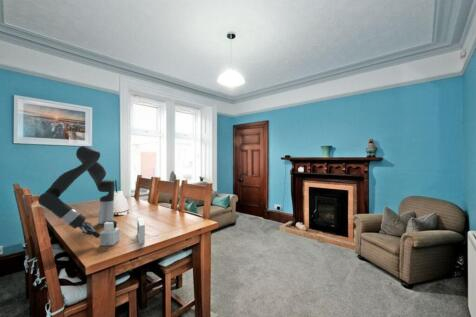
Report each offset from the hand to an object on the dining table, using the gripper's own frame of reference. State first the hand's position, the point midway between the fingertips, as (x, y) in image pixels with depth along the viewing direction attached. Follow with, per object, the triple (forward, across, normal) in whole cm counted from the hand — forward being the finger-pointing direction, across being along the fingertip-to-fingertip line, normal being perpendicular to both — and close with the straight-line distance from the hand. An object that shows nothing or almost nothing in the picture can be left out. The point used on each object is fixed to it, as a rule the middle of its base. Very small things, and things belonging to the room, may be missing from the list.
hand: (99, 236), depth 126 cm
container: (+8, 0, 0) cm, 8 cm away
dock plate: (+19, 0, -12) cm, 23 cm away
